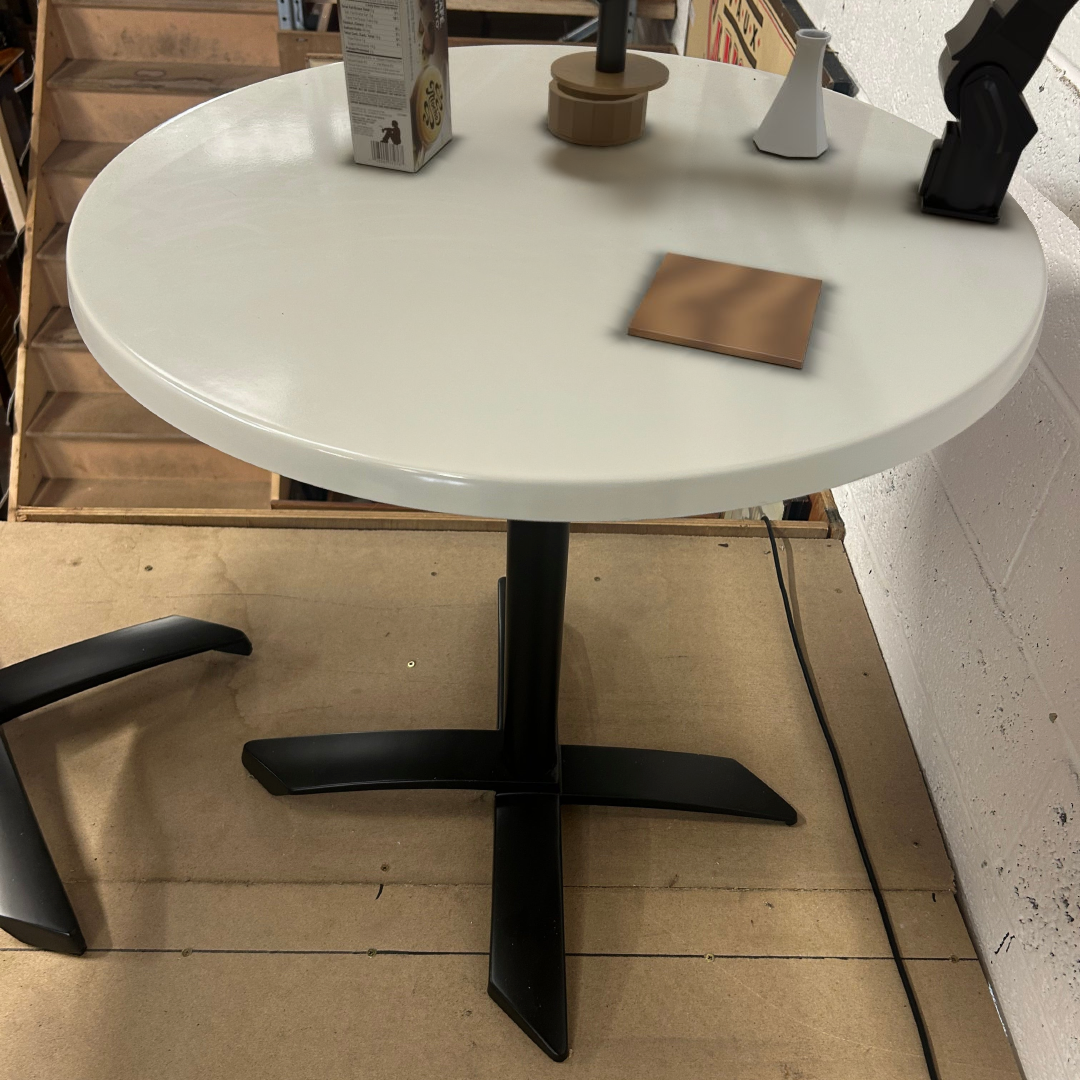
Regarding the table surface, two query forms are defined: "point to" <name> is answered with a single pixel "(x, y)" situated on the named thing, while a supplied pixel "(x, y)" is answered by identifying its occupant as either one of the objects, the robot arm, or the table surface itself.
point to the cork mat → (729, 309)
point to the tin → (595, 116)
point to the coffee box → (396, 80)
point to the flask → (798, 103)
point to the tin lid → (610, 60)
